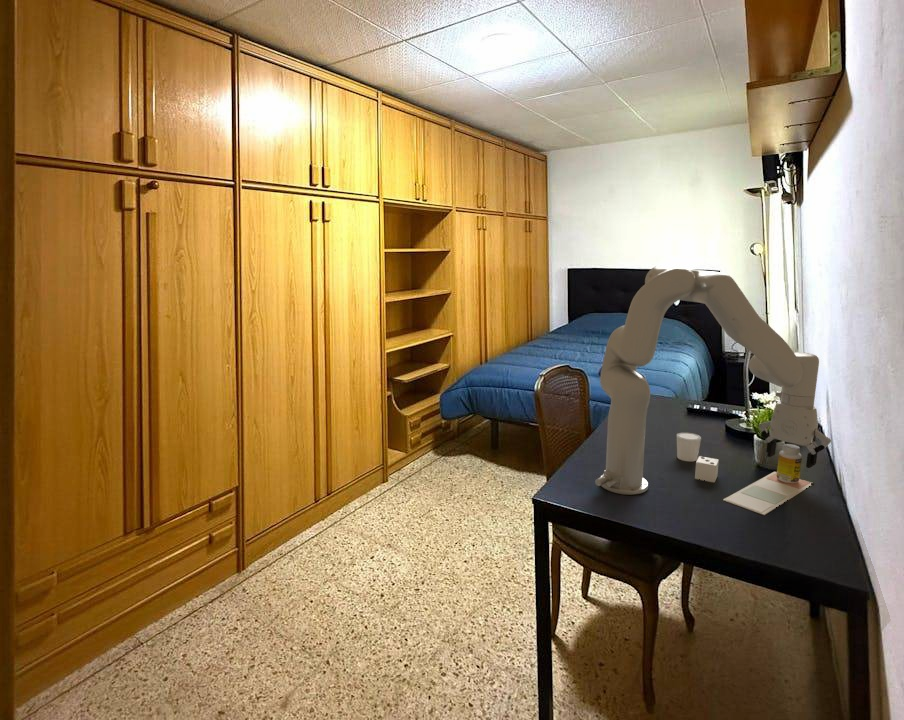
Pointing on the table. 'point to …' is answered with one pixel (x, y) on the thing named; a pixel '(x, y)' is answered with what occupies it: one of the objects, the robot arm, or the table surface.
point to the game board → (766, 494)
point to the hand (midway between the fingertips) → (790, 461)
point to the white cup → (688, 446)
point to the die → (706, 469)
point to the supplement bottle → (789, 464)
